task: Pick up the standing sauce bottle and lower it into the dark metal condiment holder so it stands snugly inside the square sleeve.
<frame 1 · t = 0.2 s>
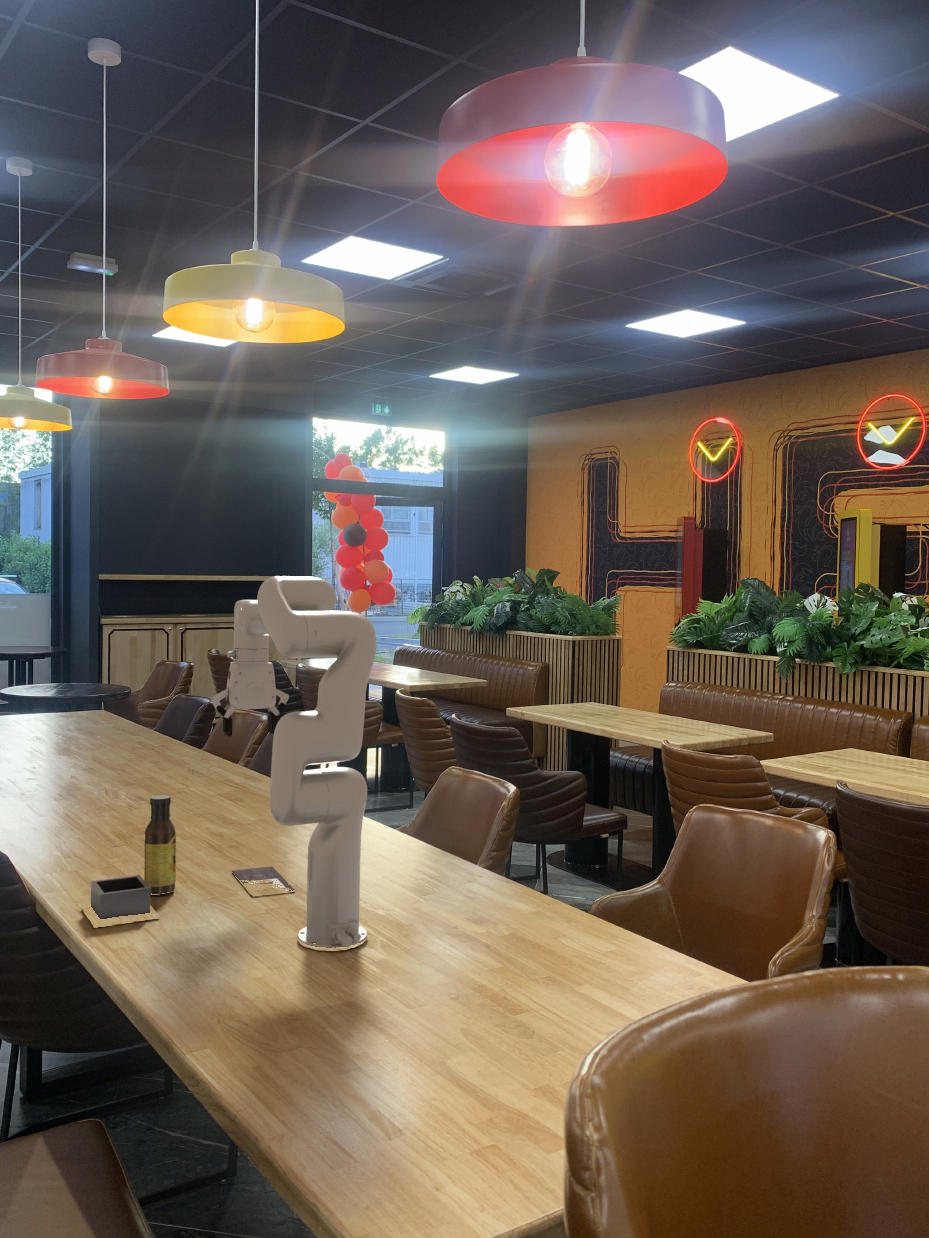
hand: (250, 734, 219), 31 cm above the table, tool pointing down, fingers open, 9 cm apart
sauce bottle: (160, 893, 207), on the table
chocolate bar: (262, 885, 215), on the table
condiment holder: (120, 914, 193), on the table
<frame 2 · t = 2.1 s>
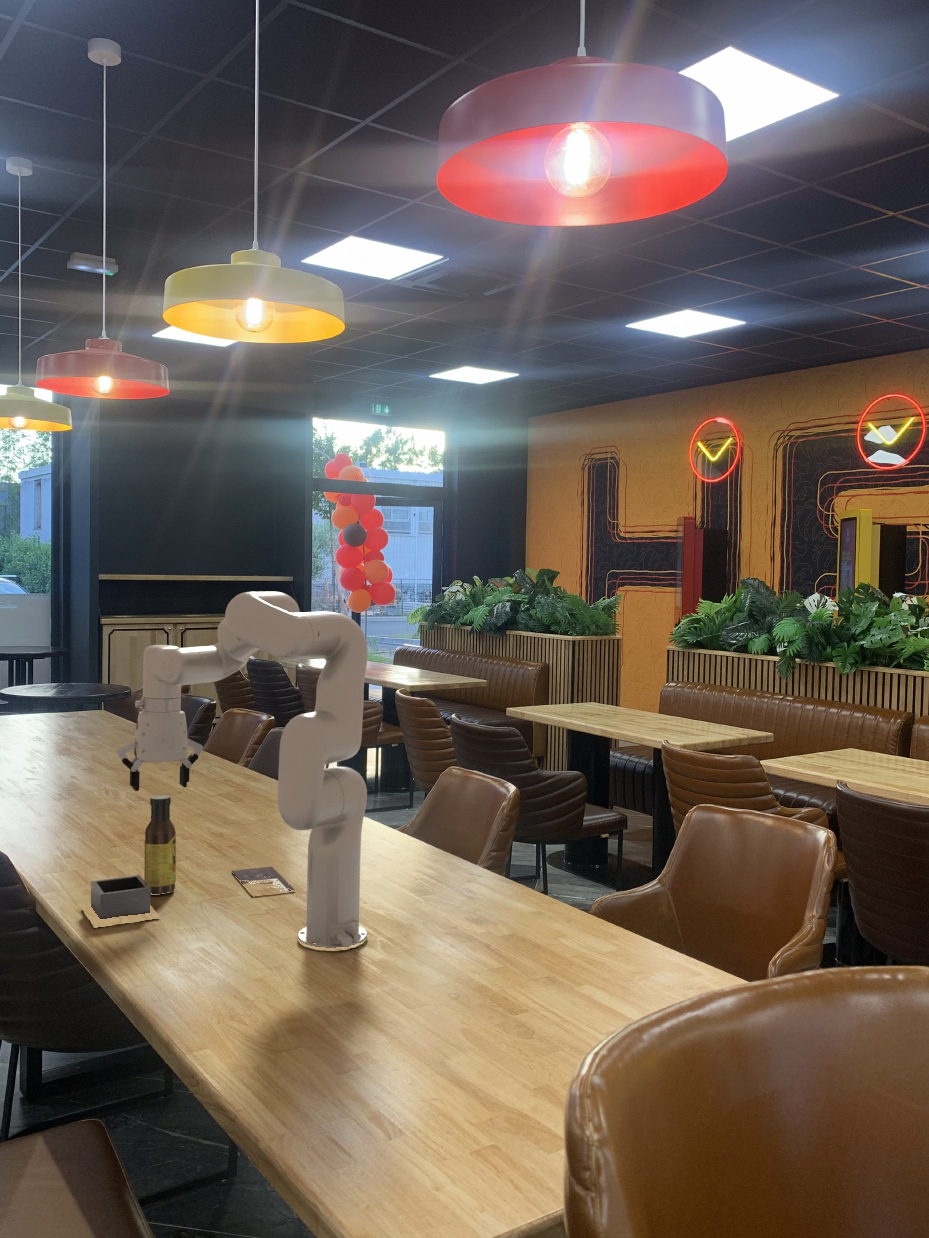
hand: (159, 787, 206), 22 cm above the table, tool pointing down, fingers open, 9 cm apart
nothing on the table moved.
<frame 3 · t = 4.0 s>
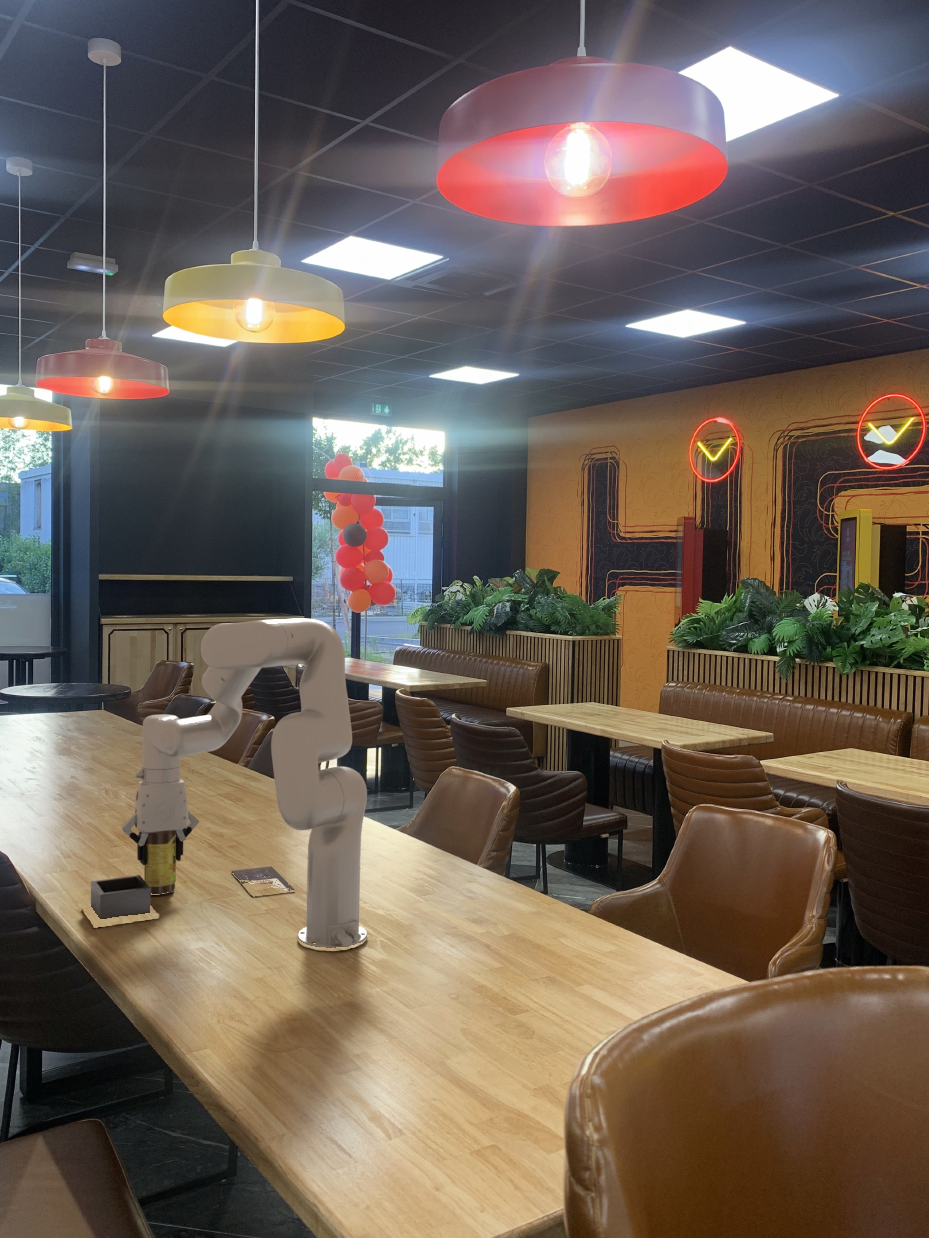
hand: (160, 860, 207), 7 cm above the table, tool pointing down, fingers closed on sauce bottle, 6 cm apart
sauce bottle: (160, 893, 207), on the table, touching gripper
everything else where it was.
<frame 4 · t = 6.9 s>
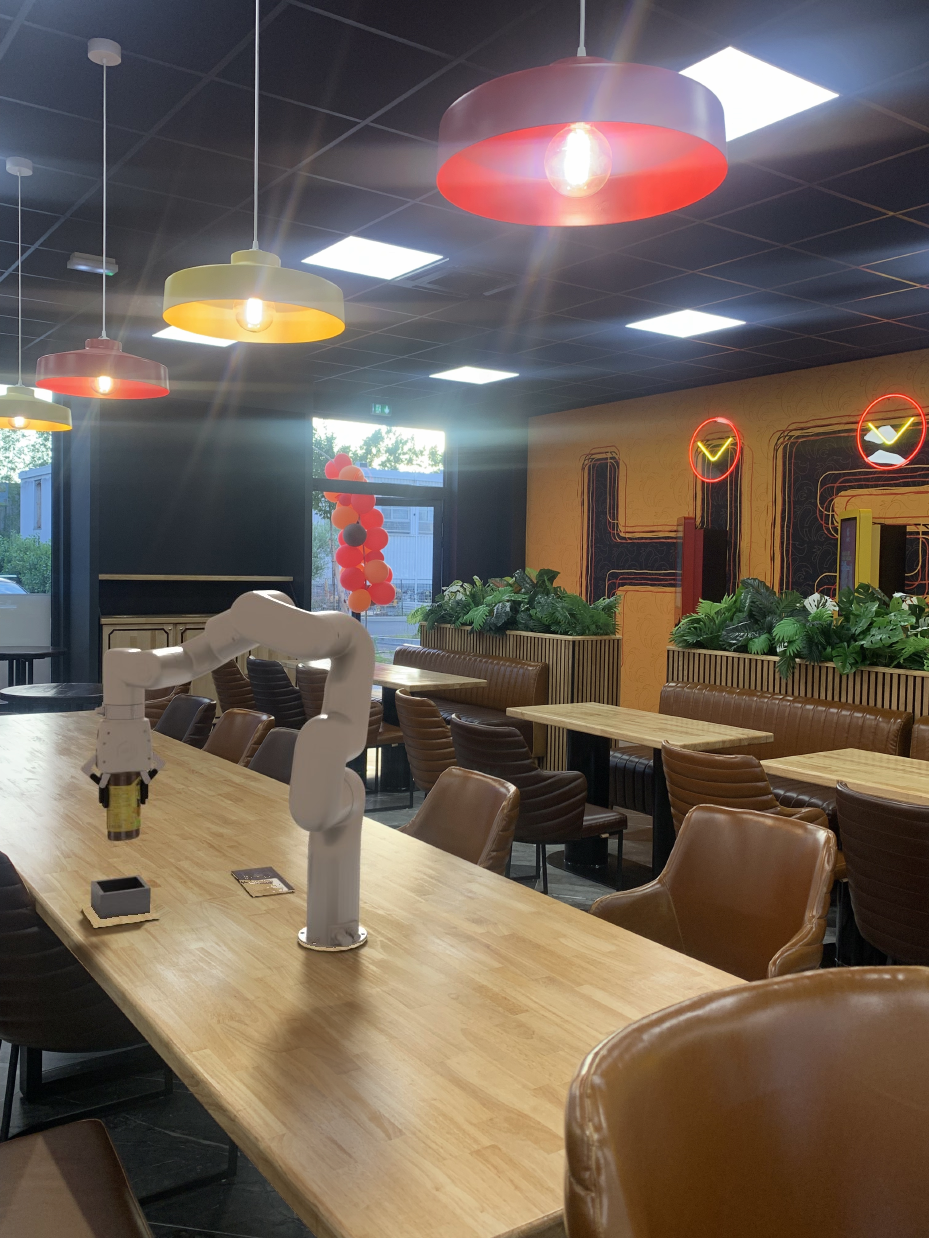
hand: (123, 804, 193), 21 cm above the table, tool pointing down, fingers closed on sauce bottle, 6 cm apart
sauce bottle: (123, 839, 193), point 14 cm above the table, touching gripper
everything else where it was.
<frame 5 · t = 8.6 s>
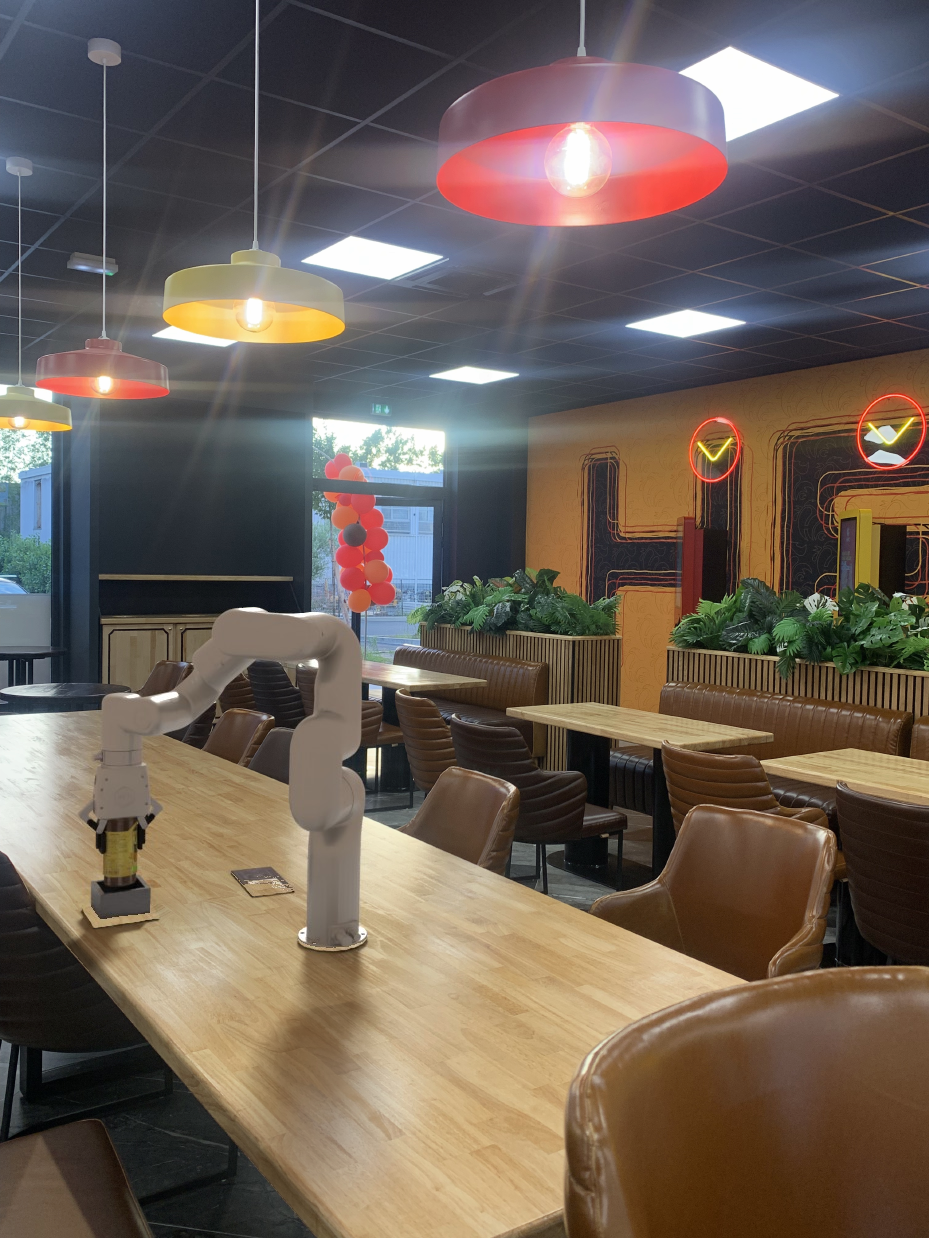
hand: (120, 849, 193), 13 cm above the table, tool pointing down, fingers closed on sauce bottle, 6 cm apart
sauce bottle: (120, 884, 193), point 6 cm above the table, touching gripper
everything else where it was.
when the fingers open (8 cm above the table, at t = 9.9 s): sauce bottle stays where it is, resting on condiment holder.
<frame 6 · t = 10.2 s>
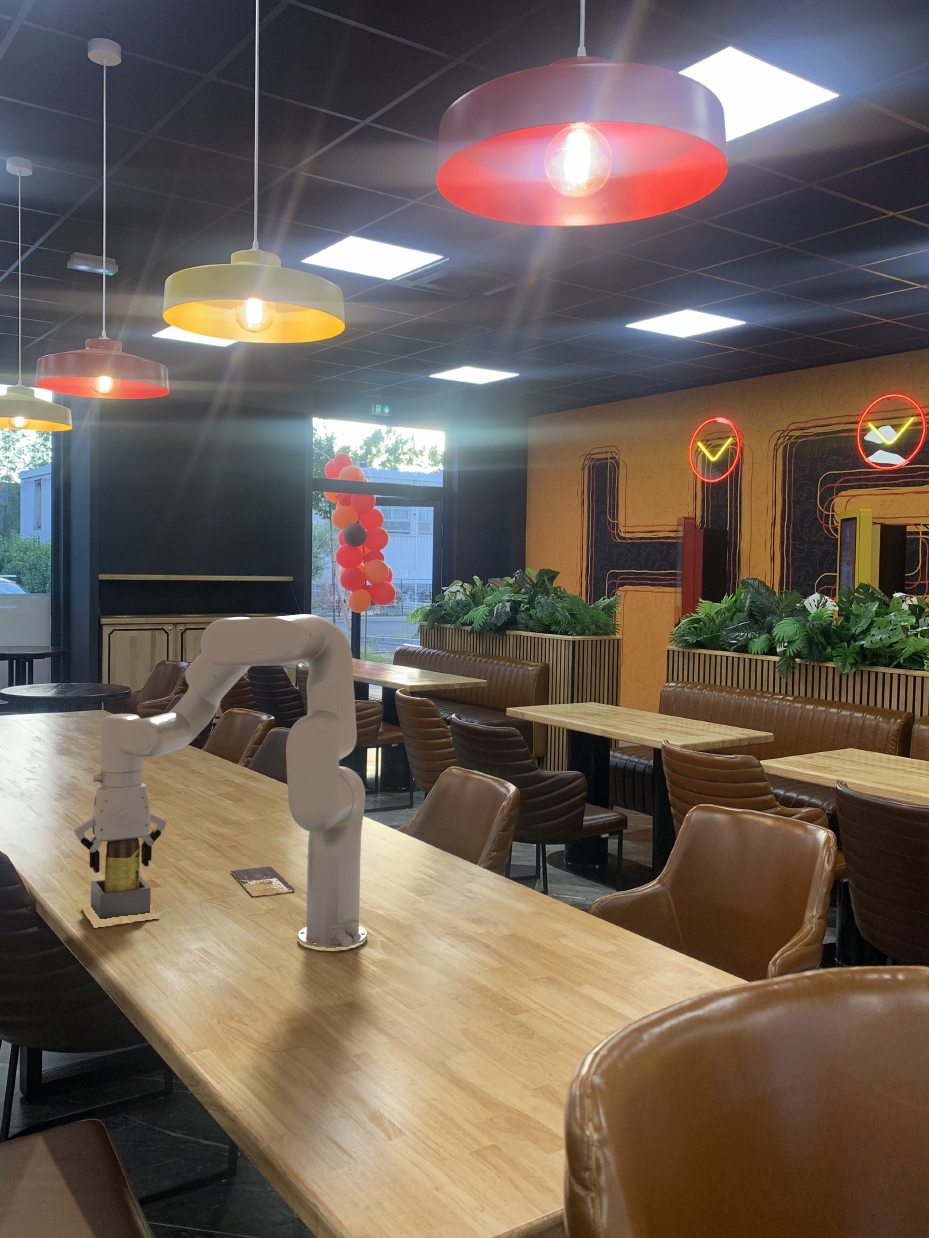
hand: (120, 867, 193), 9 cm above the table, tool pointing down, fingers open, 8 cm apart
sauce bottle: (120, 910, 193), point 1 cm above the table, touching condiment holder
everything else where it was.
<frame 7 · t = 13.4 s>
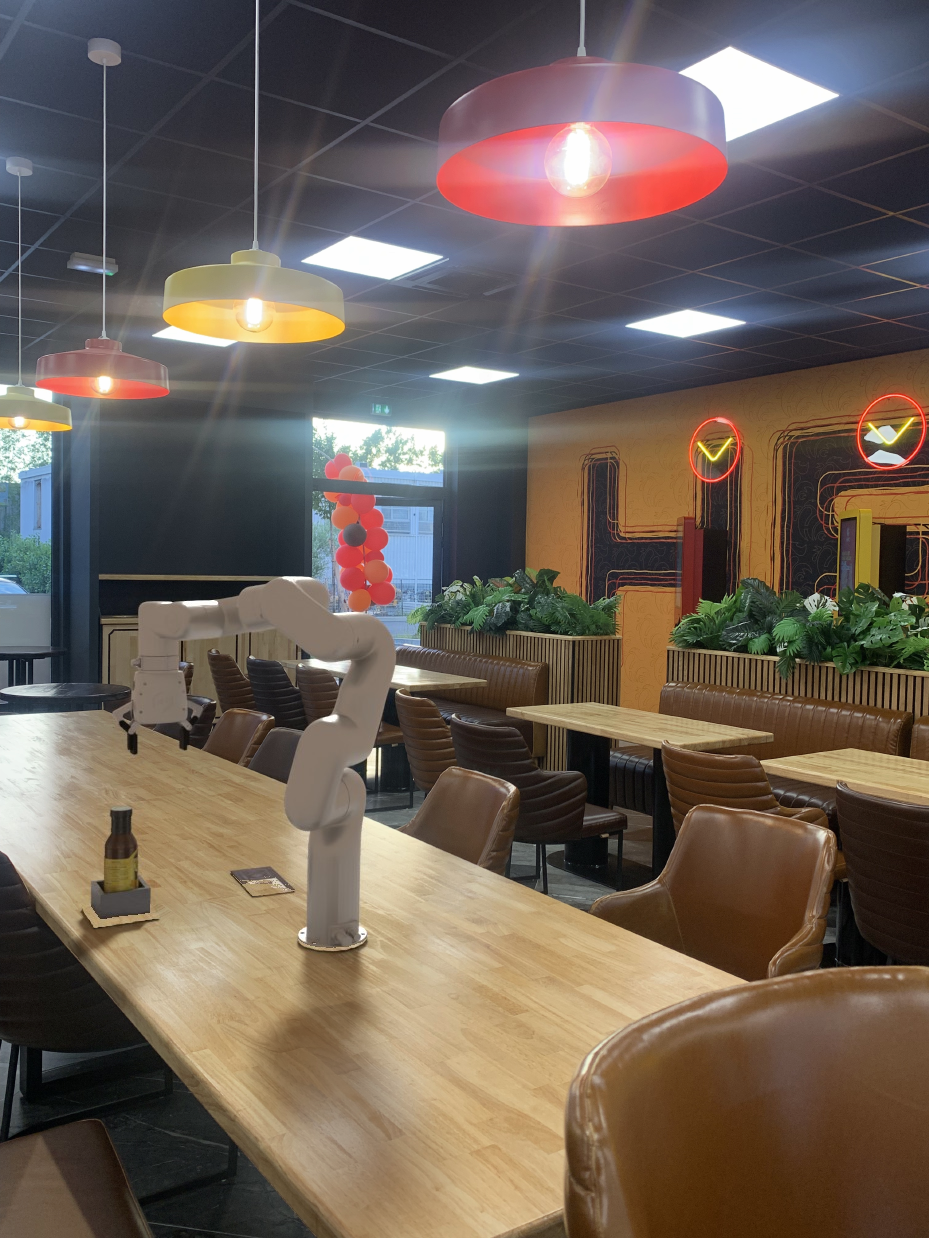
hand: (158, 751, 196), 31 cm above the table, tool pointing down, fingers open, 9 cm apart
nothing on the table moved.
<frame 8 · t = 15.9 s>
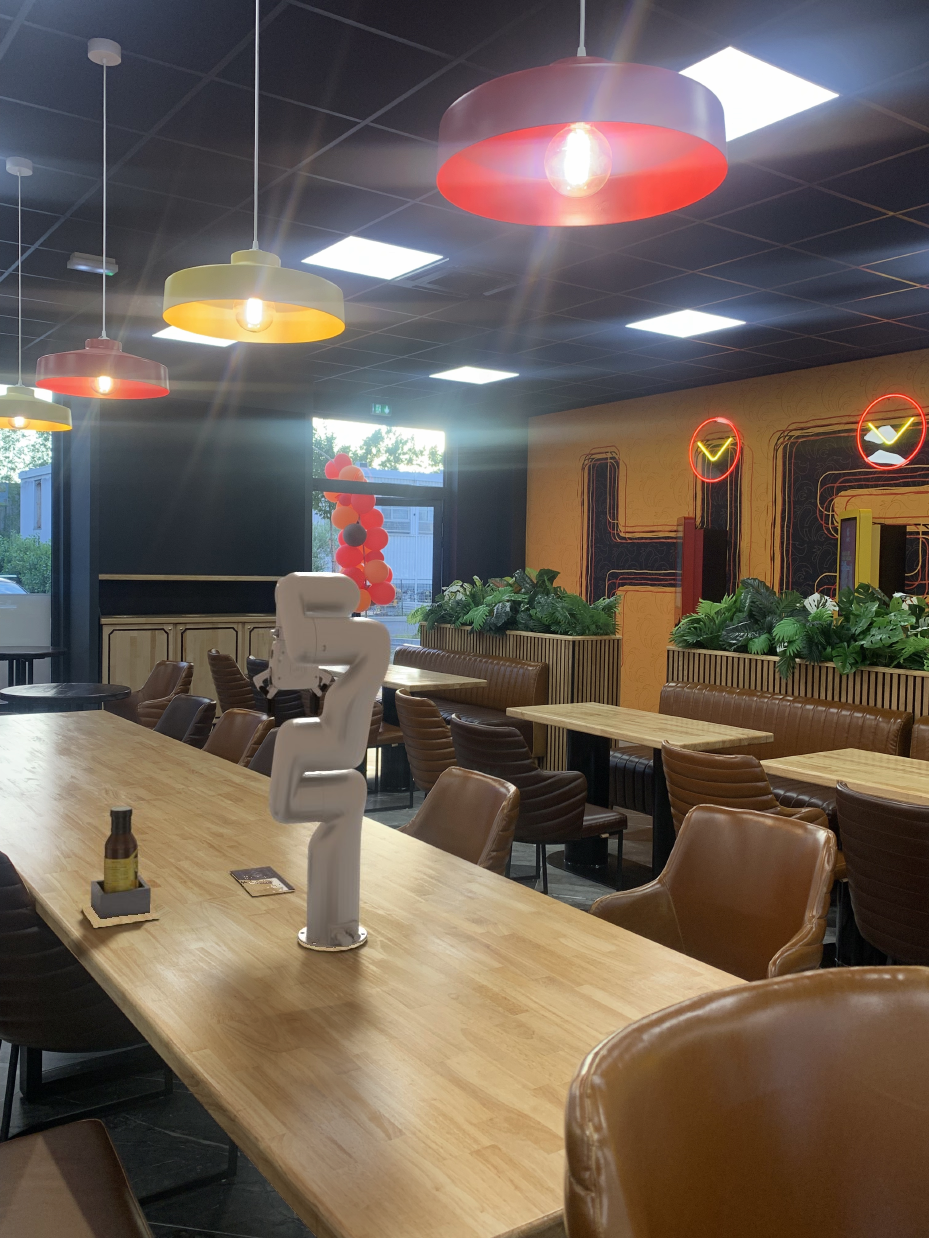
hand: (292, 715, 213), 36 cm above the table, tool pointing down, fingers open, 9 cm apart
nothing on the table moved.
at the end: sauce bottle 0.1 cm off-centre on the condiment holder, point 0.6 cm above the condiment holder's base; sauce bottle tilted 0°; the gripper is holding nothing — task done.
